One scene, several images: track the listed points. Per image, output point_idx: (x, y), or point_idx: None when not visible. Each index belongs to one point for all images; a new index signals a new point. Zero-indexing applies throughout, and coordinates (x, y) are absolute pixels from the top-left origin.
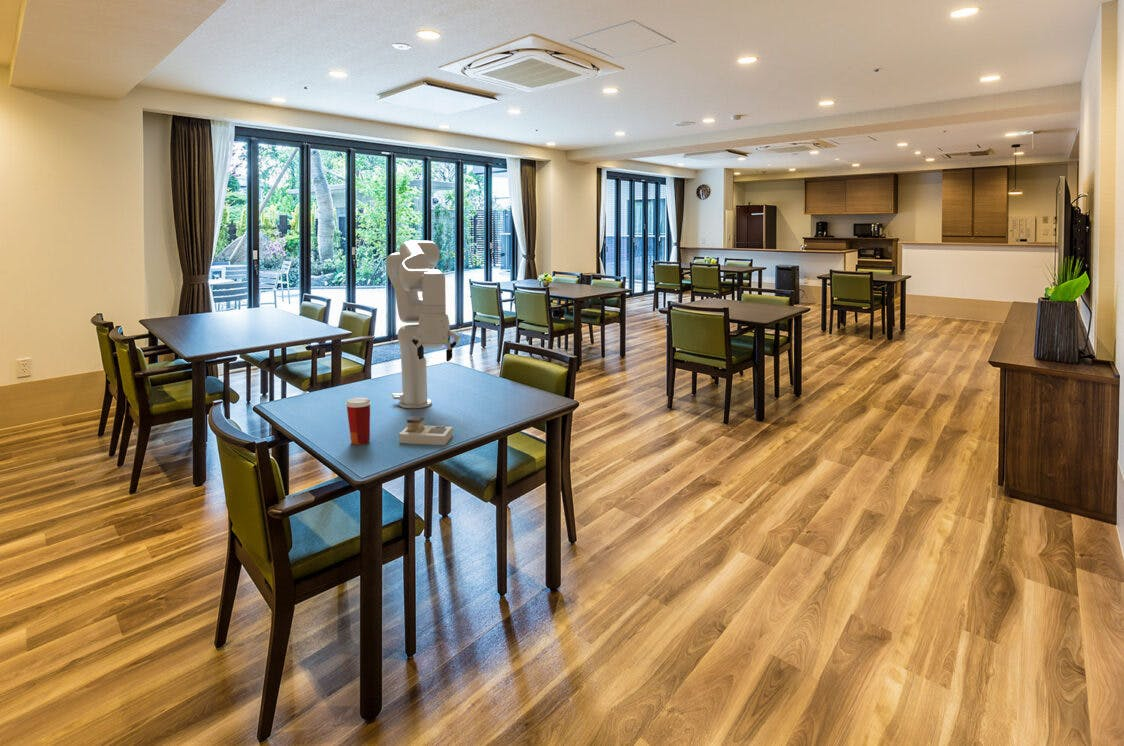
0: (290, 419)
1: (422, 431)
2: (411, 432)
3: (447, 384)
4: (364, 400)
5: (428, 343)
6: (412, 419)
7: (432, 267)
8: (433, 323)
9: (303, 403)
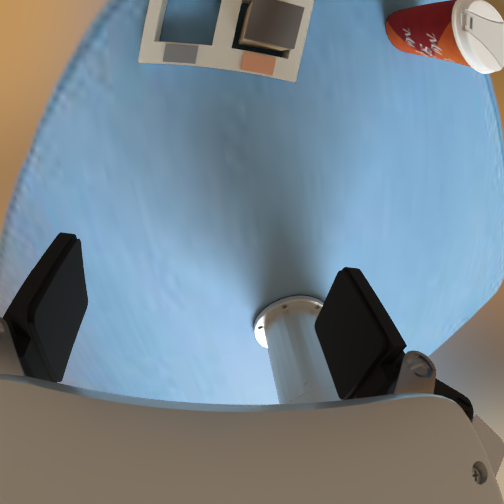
0: (499, 217)
1: (239, 8)
2: None
3: None
4: (476, 23)
5: (314, 404)
6: (283, 8)
7: None
8: None
9: (467, 299)
